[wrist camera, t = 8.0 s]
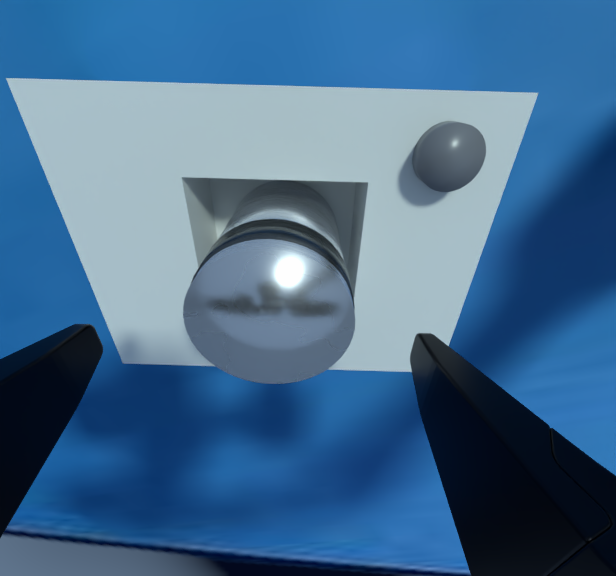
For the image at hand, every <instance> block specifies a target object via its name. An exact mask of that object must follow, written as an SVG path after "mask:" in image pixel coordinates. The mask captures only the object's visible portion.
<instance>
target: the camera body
mask: <svg viewBox="0 0 616 576" xmlns="http://www.w3.org/2000/svg"><path fill="white" fill-rule="evenodd" d="M6 79H7V82H8V84H9V87H10V89H11V91H12V94H13V96H14V99H15V101H16V104H17V106H18V109H19V111H20V113H21V116H22V118H23V121H24V123H25V126H26V128H27V130H28V133H29V135H30V138H31V140H32V143H33V145H34V148H35V150H36V152H37V155H38V157H39V160H40V162H41V165H42V167H43V170H44V172H45V174H46V177H47V179H48V182H49V184H50V187H51V189H52V191H53V194H54V196H55V199H56V201H57V204H58V206H59V209H60V211H61V213H62V216H63V218H64V221H65V223H66V226H67V228H68V230H69V233H70V235H71V238H72V240H73V243H74V245H75V248H76V250H77V252H78V255H79V257H80V260H81V262H82V265H83V267H84V269H85V272H86V274H87V277H88V279H89V282H90V284H91V287H92V289H93V291H94V294H95V296H96V299H97V301H98V304H99V306H100V308H101V311H102V313H103V316H104V318H105V321H106V323H107V326H108V328H109V330H110V333H111V335H112V338H113V340H114V343H115V345H116V347H117V350H118V352H119V355H120V357H121V360H122V362H123V364H157V365H192V366H215V365H213V364H212V363H211V362H209V361H208V360H207V359H206V358H205V357H204V356H203V355H202V354H201V353H200V352H199V351H198V350H197V349H196V347H195V346H194V344H193V343H192V341H191V339H190V337H189V335H188V333H187V331H186V327H185V324H184V318H183V305H184V300H185V296H186V293H187V291H188V288H189V287H190V284H191V282H192V279H193V276H194V275H195V273H196V271H197V270H198V268H199V266H200V265H201V263H202V262H203V260H204V258H205V257H206V255H207V253H208V252H209V250H210V249H211V247H212V246H213V245H214V243H215V242H216V241H217V240H218V239H219V237H220V235H221V234H222V232H223V230H224V229H225V227H226V225H227V224H228V222H229V220H230V219H231V217H232V216H233V214H234V212H235V211H236V209H237V207H238V206H239V204H240V202H241V201H242V199H243V198H244V197H245V196H246V195H247V194H248V193H249V192H250V191H251V190H253V189H254V188H256V187H257V186H260V185H262V184H264V183H267V182H270V181H276V180H290V181H296V182H300V183H302V184H305V185H307V186H309V187H311V188H313V189H314V190H316V191H317V192H318V193H319V194H321V195H322V196H323V197H324V198H325V200H326V201H327V202H328V203H329V205H330V207H331V208H332V211H333V213H334V215H335V219H336V223H337V228H338V233H339V237H340V242H341V247H342V252H343V257H344V262H345V265H346V267H347V271H348V274H349V279H350V284H351V288H352V293H353V298H354V306H355V309H354V311H355V330H354V335H353V338H352V340H351V343H350V345H349V347H348V348H347V350H346V352H345V353H344V354H343V356H342V357H341V358H340V359H339V360H338V361H337V362H336V363H335V364H334V365H332V366H331V367H330V368H328V369H329V370H363V371H398V372H412V369H411V364H410V354H411V350H412V346H413V342H414V339H415V336H416V334H418V333H431V334H433V335H435V336H436V337H437V338H439V339H440V340H441V341H442V342H444V343H445V344H446V345H448V346H449V343H450V341H451V338H452V335H453V332H454V329H455V327H456V324H457V321H458V318H459V315H460V312H461V310H462V307H463V304H464V301H465V298H466V296H467V293H468V290H469V287H470V284H471V281H472V279H473V276H474V273H475V270H476V267H477V265H478V262H479V259H480V256H481V253H482V250H483V248H484V245H485V242H486V239H487V236H488V234H489V231H490V228H491V225H492V222H493V219H494V217H495V214H496V211H497V208H498V205H499V203H500V200H501V197H502V194H503V191H504V188H505V186H506V183H507V180H508V177H509V174H510V172H511V169H512V166H513V163H514V160H515V157H516V155H517V152H518V149H519V146H520V143H521V141H522V138H523V135H524V132H525V129H526V126H527V124H528V121H529V118H530V115H531V112H532V110H533V107H534V104H535V101H536V98H537V95H538V93H521V92H486V91H450V90H414V89H378V88H342V87H306V86H270V85H234V84H198V83H163V82H127V81H91V80H55V79H19V78H6Z"/></svg>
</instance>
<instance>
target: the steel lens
mask: <svg viewBox="0 0 616 576" xmlns="http://www.w3.org/2000/svg"><path fill="white" fill-rule="evenodd" d="M354 309H355V306H354V298H353V293H352V288H351V284H350V279H349V274H348V271H347V267H346V265H345V262H344V257H343V252H342V247H341V242H340V237H339V233H338V228H337V223H336V219H335V215H334V213H333V211H332V208H331V207H330V205H329V203H328V202H327V201H326V200H325V198H324V197H323V196H322V195H321V194H319V193H318V192H317V191H316V190H314V189H313V188H311V187H309V186H307V185H305V184H302V183H300V182H296V181H290V180H276V181H270V182H267V183H264V184H262V185H260V186H257V187H256V188H254V189H253V190H251V191H250V192H249V193H248V194H247V195H246V196H245V197H244V198H243V199H242V201H241V202H240V204H239V206H238V207H237V209H236V211H235V212H234V214H233V216H232V217H231V219H230V220H229V222H228V224H227V225H226V227H225V229H224V230H223V232H222V234H221V235H220V237H219V239H218V240H217V241H216V242H215V243H214V245H213V246H212V247H211V249H210V250H209V252H208V253H207V255H206V257H205V258H204V260H203V262H202V263H201V265H200V266H199V268H198V270H197V271H196V273H195V275H194V276H193V279H192V282H191V284H190V287H189V288H188V291H187V293H186V296H185V300H184V305H183V318H184V324H185V327H186V331H187V333H188V335H189V337H190V339H191V341H192V343H193V344H194V346H195V347H196V349H197V350H198V351H199V352H200V353H201V354H202V355H203V356H204V357H205V358H206V359H207V360H208V361H209V362H211V363H212V364H213V365H215V366H216V367H217V368H219V369H221V370H223V371H224V372H226V373H229V374H231V375H233V376H235V377H238V378H241V379H244V380H248V381H252V382H258V383H267V384H284V383H292V382H297V381H302V380H305V379H308V378H311V377H313V376H316V375H318V374H320V373H322V372H324V371H325V370H327V369H328V368H330V367H331V366H332V365H334V364H335V363H336V362H337V361H338V360H339V359H340V358H341V357H342V356H343V354H344V353H345V352H346V350H347V348H348V347H349V345H350V343H351V340H352V338H353V335H354V330H355V311H354Z"/></svg>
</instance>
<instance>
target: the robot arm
mask: <svg viewBox="0 0 616 576" xmlns="http://www.w3.org/2000/svg"><path fill="white" fill-rule="evenodd" d="M102 353H103V346H102V343H101V341H100V339H99V337H98V334H97V332H96V330H95V328H94V327H93V326H92V325H90V324H74V325H72V326H70V327H68V328H65V329H63V330H61V331H59V332H57V333H55V334H53V335H51V336H49V337H46V338H44V339H42V340H40V341H38V342H36V343H34V344H32V345H29V346H27V347H25V348H23V349H21V350H19V351H17V352H15V353H13V354H10V355H8V356H6V357H4V358H2V359H0V538H1V536H2V534H3V533H4V531H5V529H6V528H7V526H8V524H9V522H10V521H11V519H12V517H13V516H14V514H15V512H16V511H17V509H18V507H19V505H20V504H21V502H22V500H23V499H24V497H25V495H26V494H27V492H28V490H29V489H30V487H31V485H32V483H33V482H34V480H35V478H36V477H37V475H38V473H39V472H40V470H41V468H42V466H43V465H44V463H45V461H46V460H47V458H48V456H49V455H50V453H51V451H52V450H53V448H54V446H55V444H56V443H57V441H58V439H59V438H60V436H61V434H62V433H63V431H64V429H65V427H66V426H67V424H68V422H69V421H70V419H71V417H72V416H73V414H74V412H75V410H76V409H77V407H78V405H79V403H80V401H81V399H82V397H83V395H84V393H85V391H86V388H87V386H88V384H89V382H90V380H91V378H92V375H93V373H94V371H95V369H96V367H97V365H98V362H99V360H100V358H101V356H102ZM410 364H411V369H412V375H413V380H414V385H415V390H416V395H417V400H418V405H419V410H420V414H421V418H422V421H423V424H424V428H425V431H426V434H427V437H428V440H429V443H430V447H431V450H432V453H433V456H434V459H435V462H436V466H437V469H438V472H439V475H440V478H441V481H442V485H443V488H444V491H445V494H446V497H447V500H448V504H449V507H450V510H451V513H452V516H453V519H454V523H455V526H456V529H457V532H458V535H459V538H460V542H461V545H462V548H463V551H464V554H465V557H466V561H467V564H468V567H469V570H470V573H471V576H616V476H615V475H614V474H612V473H611V472H610V471H608V470H607V469H606V468H604V467H603V466H601V465H600V464H599V463H597V462H596V461H595V460H593V459H592V458H591V457H589V456H588V455H587V454H585V453H584V452H583V451H581V450H580V449H579V448H577V447H576V446H575V445H574V444H572V443H571V442H570V441H568V440H567V439H566V438H565V437H563V436H562V435H561V434H559V433H558V432H557V431H556V430H554V429H553V428H550V427H549V425H548V424H547V423H545V422H544V421H543V420H541V419H540V418H539V417H538V416H536V415H535V414H534V413H533V412H531V411H530V410H529V409H528V408H526V407H525V406H524V405H522V404H521V403H520V402H519V401H517V400H516V399H515V398H514V397H512V396H511V395H510V394H508V393H507V392H506V391H505V390H503V389H502V388H501V387H500V386H498V385H497V384H496V383H495V382H493V381H492V380H491V379H489V378H488V377H487V376H486V375H484V374H483V373H482V372H481V371H479V370H478V369H477V368H475V367H474V366H473V365H472V364H470V363H469V362H468V361H467V360H465V359H464V358H463V357H462V356H460V355H459V354H458V353H456V352H455V351H454V350H453V349H451V348H450V347H449V346H448V345H446V344H445V343H444V342H442V341H441V340H440V339H439V338H437V337H436V336H435V335H433V334H431V333H418V334H416V336H415V339H414V342H413V346H412V350H411V354H410Z"/></svg>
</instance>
